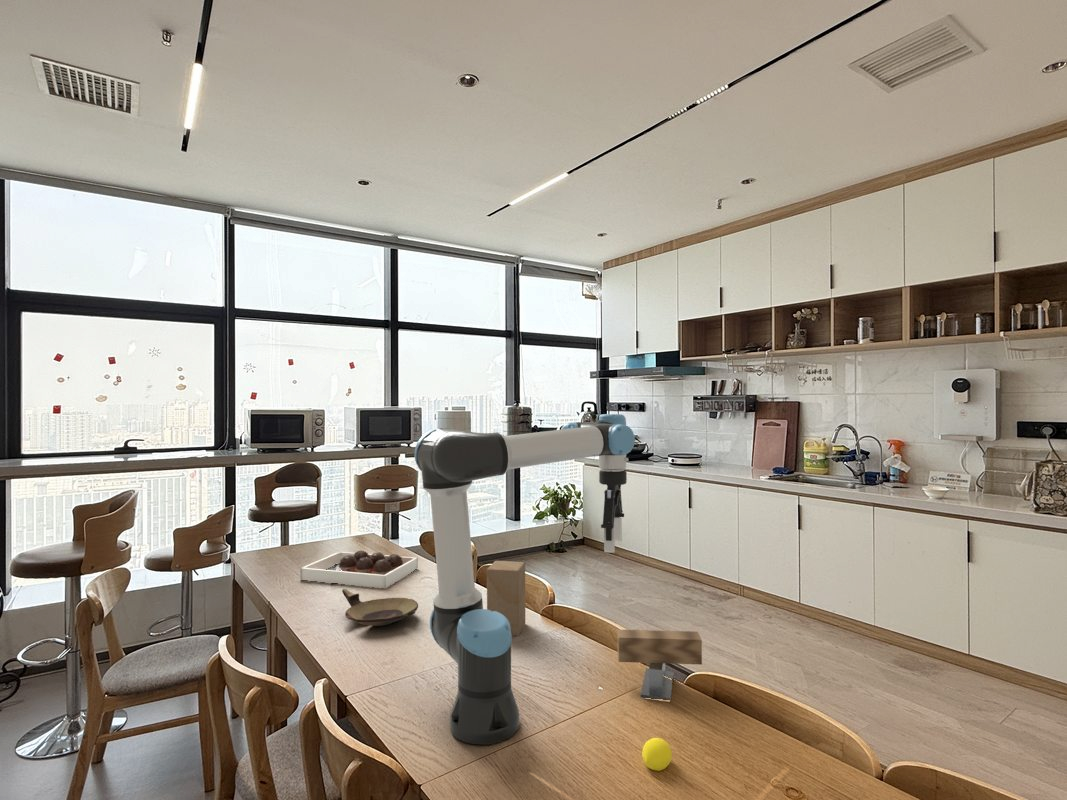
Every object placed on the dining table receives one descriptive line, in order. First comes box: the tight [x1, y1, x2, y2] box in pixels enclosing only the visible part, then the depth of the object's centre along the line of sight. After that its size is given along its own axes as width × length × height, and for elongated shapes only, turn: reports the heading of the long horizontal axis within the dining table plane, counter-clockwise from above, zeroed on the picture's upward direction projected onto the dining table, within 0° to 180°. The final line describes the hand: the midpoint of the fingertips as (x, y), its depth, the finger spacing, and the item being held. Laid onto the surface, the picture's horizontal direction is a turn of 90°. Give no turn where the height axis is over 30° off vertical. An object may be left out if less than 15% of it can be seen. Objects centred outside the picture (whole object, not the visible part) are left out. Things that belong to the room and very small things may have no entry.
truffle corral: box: [299, 551, 419, 590], centre depth 238 cm, size 26×38×5 cm
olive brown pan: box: [341, 588, 419, 627], centre depth 190 cm, size 22×30×8 cm
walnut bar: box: [616, 629, 703, 665], centre depth 145 cm, size 20×5×6 cm, turn 85°
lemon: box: [641, 737, 673, 772], centre depth 113 cm, size 7×5×5 cm
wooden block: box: [486, 560, 526, 637], centre depth 181 cm, size 10×10×20 cm
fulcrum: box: [639, 663, 675, 700], centre depth 145 cm, size 14×7×7 cm, turn 163°
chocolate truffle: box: [338, 550, 403, 575], centre depth 240 cm, size 28×17×8 cm, turn 68°
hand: (613, 546), depth 162 cm, fingers open, 13 cm apart
